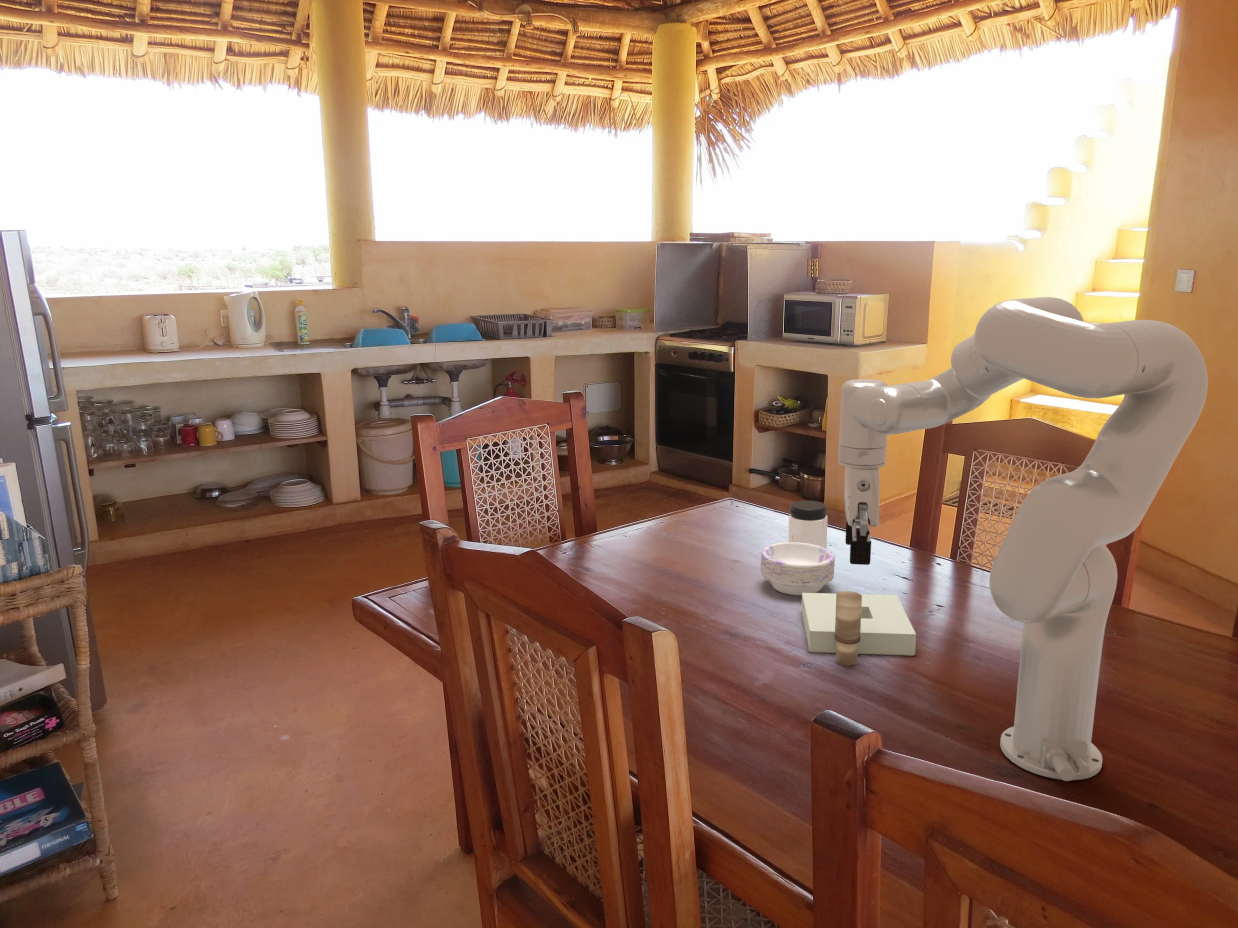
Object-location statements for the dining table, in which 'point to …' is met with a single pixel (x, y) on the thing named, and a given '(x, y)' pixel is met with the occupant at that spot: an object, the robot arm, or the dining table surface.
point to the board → (879, 624)
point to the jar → (808, 523)
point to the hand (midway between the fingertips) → (857, 553)
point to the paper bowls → (797, 567)
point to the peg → (847, 627)
